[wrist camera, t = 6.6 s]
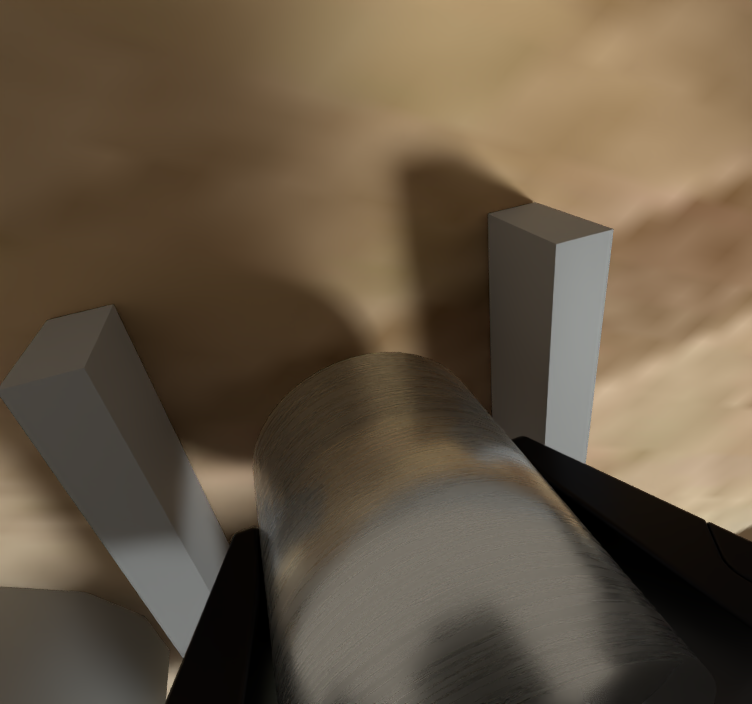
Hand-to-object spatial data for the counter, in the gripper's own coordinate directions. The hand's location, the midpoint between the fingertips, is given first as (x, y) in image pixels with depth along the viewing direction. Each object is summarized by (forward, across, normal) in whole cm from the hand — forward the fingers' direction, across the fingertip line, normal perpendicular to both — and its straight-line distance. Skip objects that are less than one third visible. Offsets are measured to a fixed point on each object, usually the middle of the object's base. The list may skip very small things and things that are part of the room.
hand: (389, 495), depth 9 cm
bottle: (+1, 0, 0) cm, 1 cm away
